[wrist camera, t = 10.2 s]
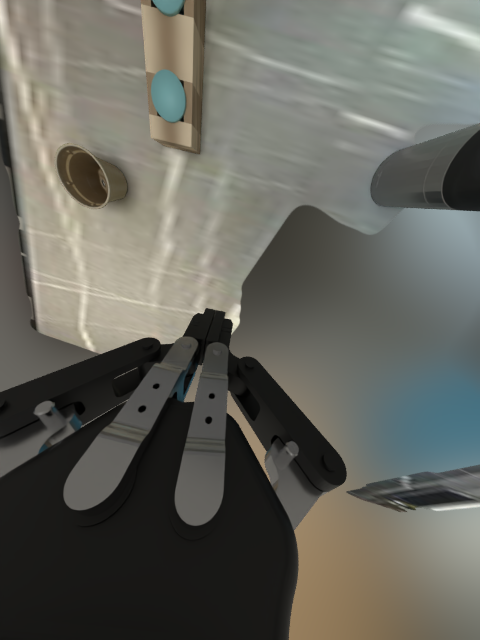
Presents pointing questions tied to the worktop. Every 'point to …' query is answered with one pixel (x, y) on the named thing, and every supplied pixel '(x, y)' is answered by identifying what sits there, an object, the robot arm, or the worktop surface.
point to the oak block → (176, 68)
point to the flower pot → (88, 177)
